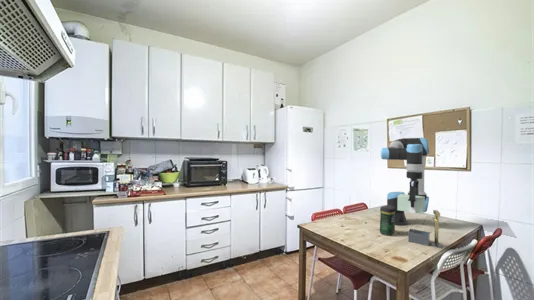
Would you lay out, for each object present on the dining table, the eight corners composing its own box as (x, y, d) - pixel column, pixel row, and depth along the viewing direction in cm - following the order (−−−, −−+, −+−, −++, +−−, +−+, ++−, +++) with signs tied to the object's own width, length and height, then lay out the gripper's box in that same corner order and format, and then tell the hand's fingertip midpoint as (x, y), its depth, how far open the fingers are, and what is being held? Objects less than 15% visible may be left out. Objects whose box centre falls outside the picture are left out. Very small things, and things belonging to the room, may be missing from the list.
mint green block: (397, 210, 130) (397, 196, 130) (400, 207, 137) (400, 193, 137) (422, 214, 123) (422, 199, 123) (424, 210, 130) (424, 196, 130)
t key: (432, 240, 138) (432, 209, 138) (436, 241, 137) (437, 209, 137) (435, 246, 130) (435, 212, 130) (440, 246, 129) (440, 213, 129)
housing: (408, 241, 139) (408, 231, 139) (410, 238, 144) (410, 228, 144) (440, 248, 129) (441, 238, 129) (441, 245, 134) (441, 234, 134)
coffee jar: (390, 236, 146) (390, 207, 146) (377, 233, 153) (378, 205, 152) (397, 233, 152) (397, 205, 152) (384, 230, 158) (385, 203, 158)
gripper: (419, 173, 118) (419, 216, 118) (424, 170, 135) (424, 208, 135) (402, 172, 123) (402, 214, 123) (409, 169, 140) (409, 206, 140)
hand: (413, 211), depth 129 cm, fingers closed on mint green block, 9 cm apart
